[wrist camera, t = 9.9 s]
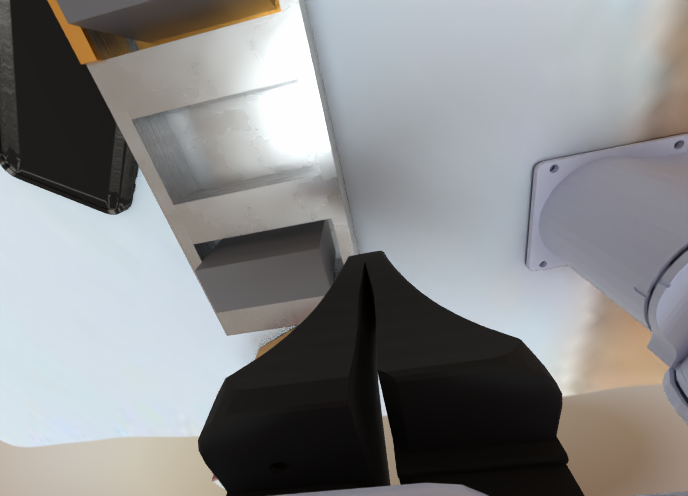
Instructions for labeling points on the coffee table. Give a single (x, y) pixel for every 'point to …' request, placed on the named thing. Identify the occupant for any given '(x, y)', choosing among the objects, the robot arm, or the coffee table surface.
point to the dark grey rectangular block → (269, 267)
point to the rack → (228, 135)
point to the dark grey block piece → (157, 15)
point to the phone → (57, 114)
